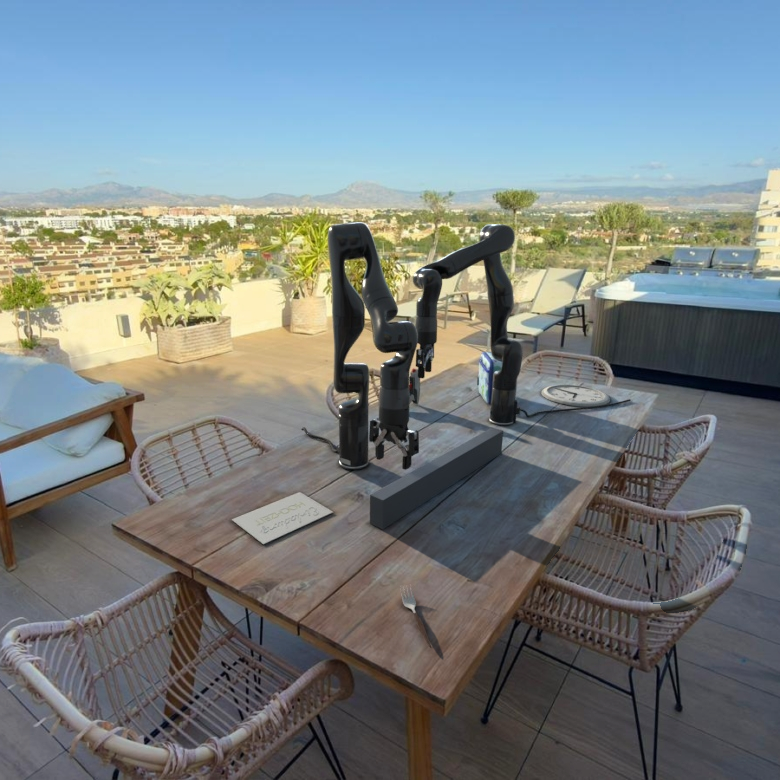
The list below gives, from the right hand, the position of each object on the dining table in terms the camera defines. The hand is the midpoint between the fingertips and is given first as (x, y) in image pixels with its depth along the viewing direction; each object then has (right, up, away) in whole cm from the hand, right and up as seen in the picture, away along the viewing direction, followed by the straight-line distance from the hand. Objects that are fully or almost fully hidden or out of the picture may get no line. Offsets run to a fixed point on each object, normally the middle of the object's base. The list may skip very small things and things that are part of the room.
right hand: (424, 374), depth 182 cm
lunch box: (+33, -9, +52) cm, 62 cm away
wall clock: (+73, -8, +58) cm, 93 cm away
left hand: (-11, -24, -49) cm, 56 cm away
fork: (-7, -50, -80) cm, 95 cm away
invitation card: (-40, -38, -45) cm, 72 cm away
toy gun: (-5, -13, +38) cm, 41 cm away
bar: (+4, -33, -26) cm, 42 cm away
